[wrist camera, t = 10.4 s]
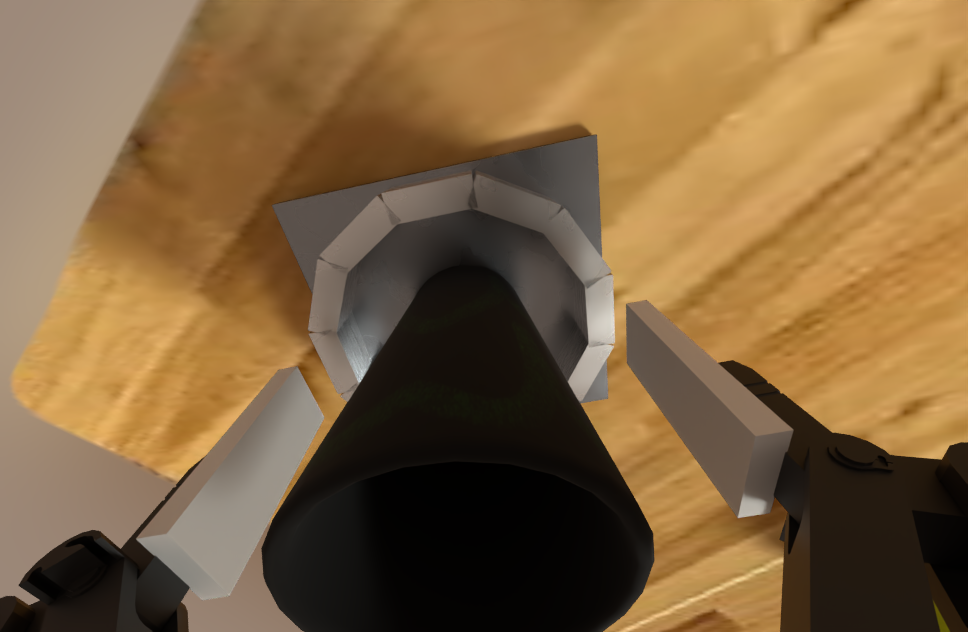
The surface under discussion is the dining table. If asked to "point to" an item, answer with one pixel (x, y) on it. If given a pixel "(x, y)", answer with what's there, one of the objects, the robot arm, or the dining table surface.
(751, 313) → the dining table surface
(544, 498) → the cup
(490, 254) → the duct collar
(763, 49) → the dining table surface
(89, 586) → the robot arm
